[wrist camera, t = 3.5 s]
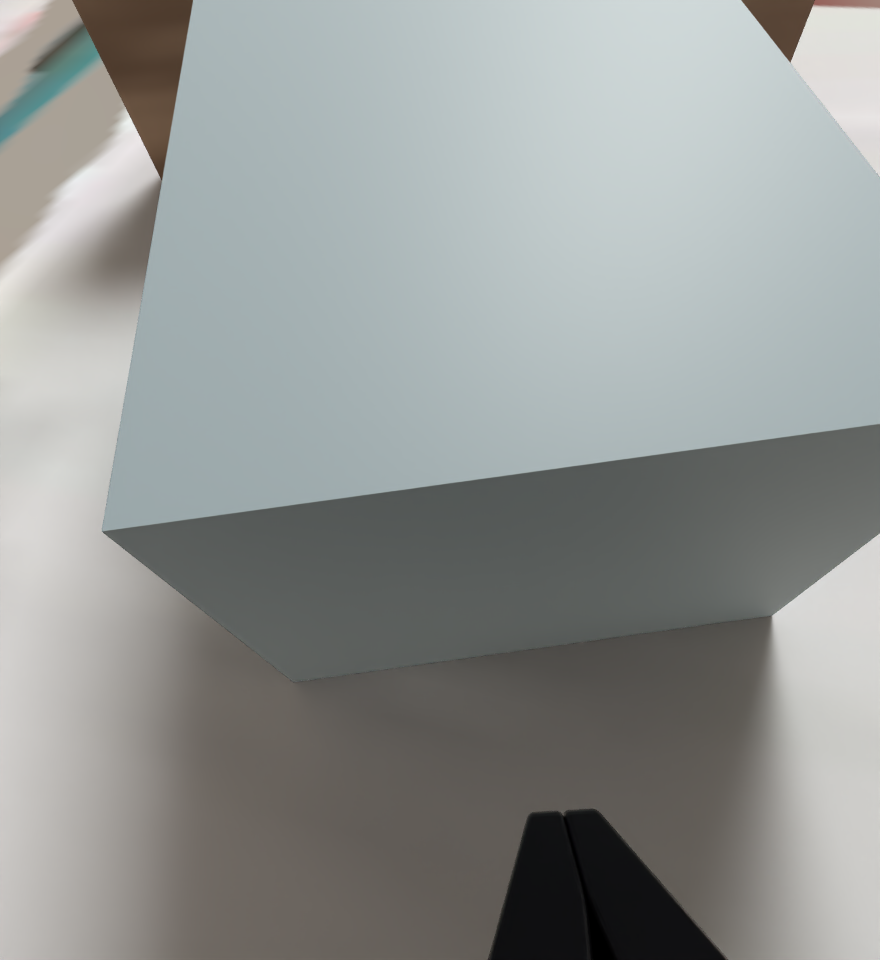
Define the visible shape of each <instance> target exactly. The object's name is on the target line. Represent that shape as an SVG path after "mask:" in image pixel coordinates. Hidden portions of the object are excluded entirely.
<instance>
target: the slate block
mask: <svg viewBox="0 0 880 960" xmlns="http://www.w3.org/2000/svg"><path fill="white" fill-rule="evenodd" d="M102 532H103V533H104V534H106V535H107V536H108V537H109V538H111V539H112V540H113V541H114V542H116V543H117V544H118V545H120V546H121V547H122V548H123V549H125V550H126V551H127V552H128V553H130V554H131V555H132V556H134V557H135V558H136V559H137V560H139V561H140V562H141V563H142V564H144V565H145V566H146V567H148V568H149V569H150V570H151V571H153V572H154V573H155V574H156V575H158V576H159V577H160V578H162V579H163V580H164V581H165V582H167V583H168V584H169V585H170V586H172V587H173V588H174V589H176V590H177V591H178V592H179V593H181V594H182V595H183V596H184V597H186V598H187V599H188V600H190V601H191V602H192V603H193V604H195V605H196V606H197V607H198V608H200V609H201V610H202V611H204V612H205V613H206V614H207V615H209V616H210V617H211V618H212V619H214V620H215V621H216V622H217V623H219V624H220V625H221V626H223V627H224V628H225V629H226V630H228V631H229V632H230V633H231V634H233V635H234V636H235V637H237V638H238V639H239V640H240V641H242V642H243V643H244V644H245V645H247V646H248V647H249V648H251V649H252V650H253V651H254V652H256V653H257V654H258V655H259V656H261V657H262V658H263V659H265V660H266V661H267V662H268V663H270V664H271V665H272V666H273V667H275V668H276V669H277V670H279V671H280V672H281V673H282V674H284V675H285V676H286V677H287V678H289V679H290V680H291V681H293V682H299V681H307V680H314V679H321V678H328V677H335V676H342V675H350V674H357V673H364V672H371V671H378V670H386V669H393V668H400V667H407V666H414V665H421V664H429V663H436V662H443V661H450V660H457V659H464V658H472V657H479V656H486V655H493V654H500V653H507V652H515V651H522V650H529V649H536V648H543V647H550V646H558V645H565V644H572V643H579V642H586V641H594V640H601V639H608V638H615V637H622V636H629V635H637V634H644V633H651V632H658V631H665V630H672V629H680V628H687V627H694V626H701V625H708V624H715V623H723V622H730V621H737V620H744V619H751V618H758V617H766V616H772V615H773V614H775V613H776V612H777V611H779V610H780V609H781V608H783V607H784V606H785V605H786V604H788V603H789V602H790V601H792V600H793V599H794V598H796V597H797V596H798V595H800V594H801V593H802V592H803V591H805V590H806V589H807V588H809V587H810V586H811V585H813V584H814V583H815V582H817V581H818V580H819V579H820V578H822V577H823V576H824V575H826V574H827V573H828V572H830V571H831V570H832V569H834V568H835V567H836V566H837V565H839V564H840V563H841V562H843V561H844V560H845V559H847V558H848V557H849V556H851V555H852V554H853V553H854V552H856V551H857V550H858V549H860V548H861V547H862V546H864V545H865V544H866V543H868V542H869V541H870V540H871V539H873V538H874V537H875V536H877V535H878V534H879V533H880V177H879V175H878V174H877V173H876V172H875V170H874V169H873V168H872V167H871V165H870V164H869V163H868V161H867V160H866V159H865V158H864V156H863V155H862V154H861V152H860V151H859V150H858V149H857V147H856V146H855V145H854V144H853V142H852V141H851V140H850V138H849V137H848V136H847V135H846V133H845V132H844V131H843V130H842V128H841V127H840V126H839V124H838V123H837V122H836V121H835V119H834V118H833V117H832V115H831V114H830V113H829V112H828V110H827V109H826V108H825V107H824V105H823V104H822V103H821V101H820V100H819V99H818V98H817V96H816V95H815V94H814V93H813V91H812V90H811V89H810V87H809V86H808V85H807V84H806V82H805V81H804V80H803V78H802V77H801V76H800V75H799V73H798V72H797V71H796V70H795V68H794V67H793V66H792V64H791V63H790V62H789V61H788V59H787V58H786V57H785V56H784V54H783V53H782V52H781V50H780V49H779V48H778V47H777V45H776V44H775V43H774V41H773V40H772V39H771V38H770V36H769V35H768V34H767V33H766V31H765V30H764V29H763V27H762V26H761V25H760V24H759V22H758V21H757V20H756V19H755V17H754V16H753V15H752V13H751V12H750V11H749V10H748V8H747V7H746V6H745V4H744V3H743V2H742V1H741V0H193V5H192V10H191V16H190V22H189V28H188V34H187V39H186V45H185V51H184V57H183V63H182V68H181V74H180V80H179V86H178V92H177V97H176V103H175V109H174V115H173V120H172V126H171V132H170V138H169V144H168V149H167V155H166V161H165V167H164V173H163V178H162V184H161V190H160V196H159V202H158V207H157V213H156V219H155V225H154V231H153V236H152V242H151V248H150V254H149V260H148V265H147V271H146V277H145V283H144V289H143V294H142V300H141V306H140V312H139V317H138V323H137V329H136V335H135V341H134V346H133V352H132V358H131V364H130V370H129V375H128V381H127V387H126V393H125V399H124V404H123V410H122V416H121V422H120V428H119V433H118V439H117V445H116V451H115V457H114V462H113V468H112V474H111V480H110V486H109V491H108V497H107V503H106V509H105V514H104V520H103V526H102Z"/></svg>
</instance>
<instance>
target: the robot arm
mask: <svg viewBox="0 0 880 960" xmlns="http://www.w3.org/2000/svg"><path fill="white" fill-rule="evenodd" d="M488 960H728V959H727V958H726V956H725V955H724V954H723V953H722V952H721V951H720V950H719V948H718V947H717V946H716V945H715V944H714V943H713V942H712V940H711V939H710V938H709V937H708V936H707V935H706V934H705V932H704V931H703V930H702V929H701V928H700V927H699V925H698V924H697V923H696V922H695V921H694V920H693V919H692V917H691V916H690V915H689V914H688V913H687V912H686V911H685V909H684V908H683V907H682V906H681V905H680V904H679V903H678V901H677V900H676V899H675V898H674V897H673V896H672V895H671V893H670V892H669V891H668V890H667V889H666V888H665V887H664V885H663V884H662V883H661V882H660V881H659V880H658V878H657V877H656V876H655V875H654V874H653V873H652V872H651V870H650V869H649V868H648V867H647V866H646V865H645V864H644V862H643V861H642V860H641V859H640V858H639V857H638V856H637V854H636V853H635V852H634V851H633V850H632V849H631V848H630V846H629V845H628V844H627V843H626V842H625V841H624V839H623V838H622V837H621V836H620V835H619V834H618V833H617V831H616V830H615V829H614V828H613V827H612V826H611V825H610V823H609V822H608V821H607V820H606V819H605V818H604V817H603V815H602V814H601V813H600V812H599V811H597V810H595V809H578V810H567V811H566V812H565V813H564V815H562V814H561V812H559V811H542V812H532V813H530V814H529V815H528V817H527V820H526V824H525V828H524V831H523V835H522V838H521V842H520V846H519V849H518V853H517V857H516V860H515V864H514V867H513V871H512V875H511V878H510V882H509V885H508V889H507V893H506V896H505V900H504V904H503V907H502V911H501V914H500V918H499V922H498V925H497V929H496V933H495V936H494V940H493V943H492V947H491V951H490V954H489V958H488Z"/></svg>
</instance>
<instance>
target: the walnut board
mask: <svg viewBox="0 0 880 960" xmlns="http://www.w3.org/2000/svg"><path fill="white" fill-rule="evenodd" d="M72 1H73V2H74V4H75V7H76V9H77V11H78V13H79V15H80V17H81V19H82V21H83V23H84V25H85V27H86V29H87V31H88V33H89V35H90V37H91V39H92V41H93V43H94V45H95V47H96V49H97V51H98V53H99V55H100V57H101V59H102V61H103V63H104V65H105V67H106V69H107V71H108V73H109V75H110V77H111V79H112V81H113V83H114V85H115V87H116V89H117V91H118V93H119V95H120V97H121V99H122V101H123V103H124V105H125V107H126V109H127V111H128V113H129V115H130V117H131V119H132V121H133V123H134V125H135V127H136V129H137V131H138V133H139V135H140V137H141V139H142V141H143V143H144V145H145V147H146V149H147V151H148V153H149V156H150V158H151V160H152V162H153V164H154V166H155V168H156V170H157V172H158V174H159V176H160V178H161V180H162V178H163V173H164V167H165V161H166V155H167V149H168V144H169V138H170V132H171V126H172V120H173V115H174V109H175V103H176V97H177V92H178V86H179V80H180V74H181V68H182V63H183V57H184V51H185V45H186V39H187V34H188V28H189V22H190V16H191V10H192V5H193V0H72ZM741 1H742V2H743V3H744V4H745V6H746V7H747V8H748V10H749V11H750V12H751V13H752V15H753V16H754V17H755V19H756V20H757V21H758V22H759V24H760V25H761V26H762V27H763V29H764V30H765V31H766V33H767V34H768V35H769V36H770V38H771V39H772V40H773V41H774V43H775V44H776V45H777V47H778V48H779V49H780V50H781V52H782V53H783V54H784V56H785V57H786V58H787V59H788V61H789V62H791V60H792V57H793V55H794V52H795V49H796V47H797V44H798V42H799V39H800V37H801V34H802V32H803V29H804V27H805V24H806V21H807V19H808V16H809V14H810V11H811V9H812V6H813V4H814V1H815V0H741Z"/></svg>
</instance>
